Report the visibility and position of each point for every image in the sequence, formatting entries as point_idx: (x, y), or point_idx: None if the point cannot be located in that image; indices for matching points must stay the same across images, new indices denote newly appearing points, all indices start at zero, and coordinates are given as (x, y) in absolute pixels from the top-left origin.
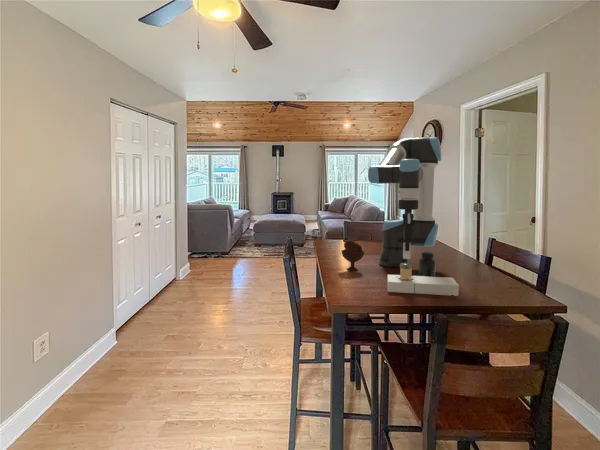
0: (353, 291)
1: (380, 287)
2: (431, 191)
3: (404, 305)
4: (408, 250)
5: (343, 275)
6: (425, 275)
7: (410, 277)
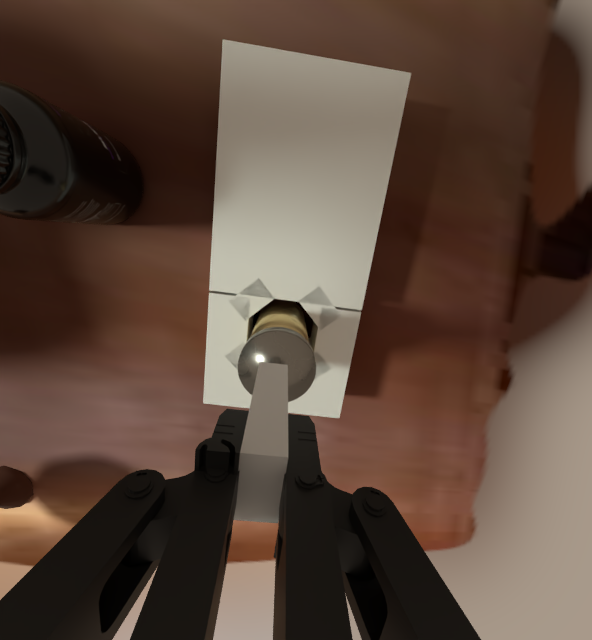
0: None
1: None
2: None
3: (496, 365)
4: (309, 423)
5: None
6: (126, 195)
7: (300, 321)
